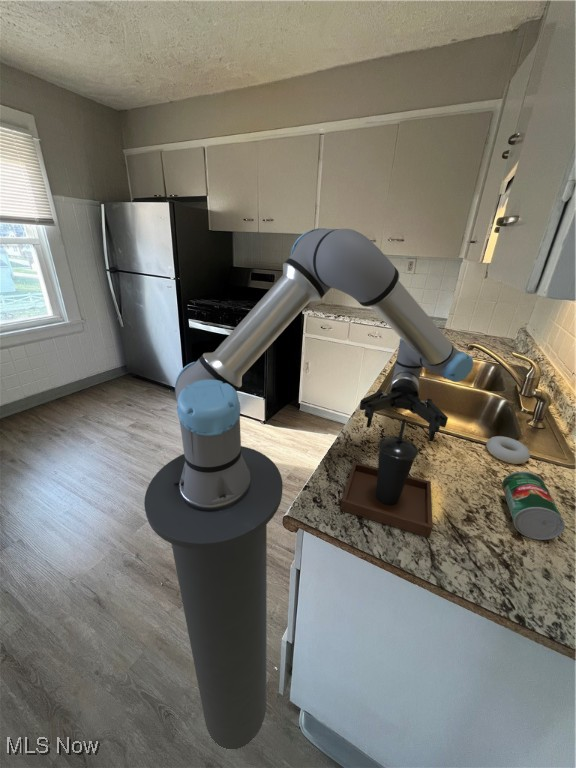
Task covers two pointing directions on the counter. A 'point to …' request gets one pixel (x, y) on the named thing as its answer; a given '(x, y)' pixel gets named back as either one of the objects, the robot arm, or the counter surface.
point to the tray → (404, 515)
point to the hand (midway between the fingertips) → (399, 429)
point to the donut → (508, 450)
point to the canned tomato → (532, 506)
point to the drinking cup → (394, 466)
